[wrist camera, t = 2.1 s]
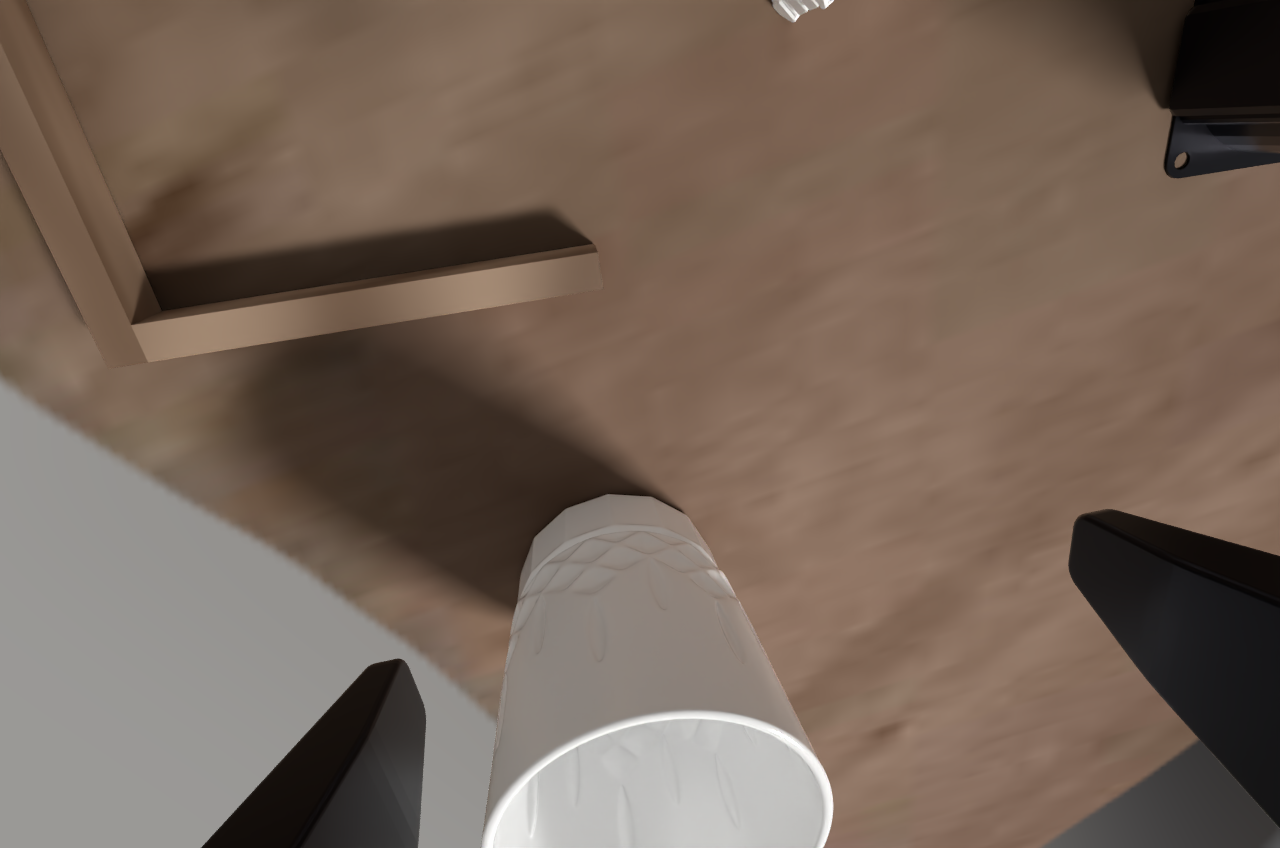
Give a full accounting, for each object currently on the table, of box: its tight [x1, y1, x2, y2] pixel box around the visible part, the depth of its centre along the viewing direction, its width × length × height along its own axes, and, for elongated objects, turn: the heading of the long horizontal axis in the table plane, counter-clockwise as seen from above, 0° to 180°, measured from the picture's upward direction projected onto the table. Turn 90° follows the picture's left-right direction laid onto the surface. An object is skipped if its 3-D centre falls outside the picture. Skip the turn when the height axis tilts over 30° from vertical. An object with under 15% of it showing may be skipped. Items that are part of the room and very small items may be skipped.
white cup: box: [481, 494, 833, 848], centre depth 19 cm, size 8×8×10 cm
